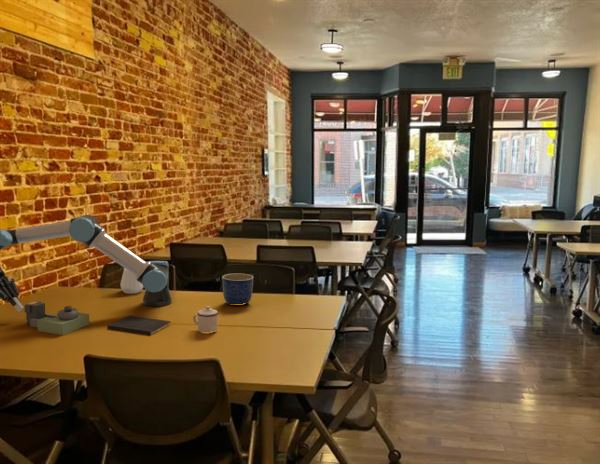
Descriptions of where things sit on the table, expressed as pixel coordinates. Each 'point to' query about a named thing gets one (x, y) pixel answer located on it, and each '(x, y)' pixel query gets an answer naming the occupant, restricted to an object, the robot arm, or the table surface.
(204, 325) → the teacup with lid
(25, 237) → the robot arm
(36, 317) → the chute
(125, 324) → the hardcover book
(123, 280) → the cup
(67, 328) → the flat slab with knob
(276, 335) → the table surface
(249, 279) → the planter
